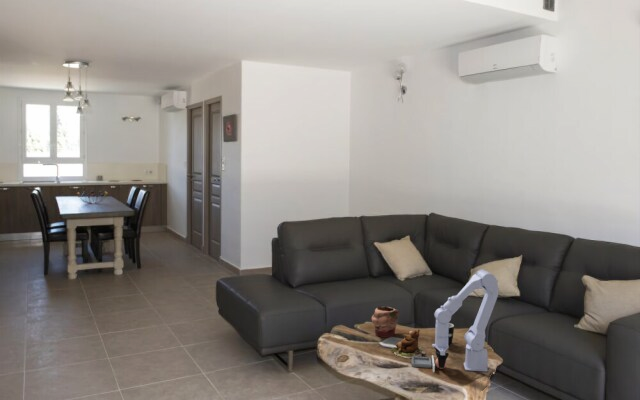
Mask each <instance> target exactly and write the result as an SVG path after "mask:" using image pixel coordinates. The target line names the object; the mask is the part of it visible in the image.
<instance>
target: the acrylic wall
mask: <svg viewBox="0 0 640 400" xmlns="http://www.w3.org/2000/svg"><path fill="white" fill-rule="evenodd" d="M431 364H432V366H431V368H432V372H433V373H436V372H435V369H436V363H435V358H434V355H433V354H432V355H431Z"/></svg>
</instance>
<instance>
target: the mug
mask: <svg viewBox="0 0 640 400" xmlns="http://www.w3.org/2000/svg"><path fill="white" fill-rule="evenodd" d="M454 331H455V325H454V324H453V323H450V322H449V334H448V345H449V347H451V345H452V344H453V343H452V342H453V339H454V333H455V332H454Z"/></svg>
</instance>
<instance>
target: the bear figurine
mask: <svg viewBox="0 0 640 400" xmlns="http://www.w3.org/2000/svg"><path fill="white" fill-rule="evenodd" d="M420 331H421V329H418V330H415V329H414V330H410V331H408V334H404V336H403V337H404V338H403V339H401V341H399V342H396V344H395V347H394V346H393V347H392V348H391V349H390V352H391V353H392V352H394V353H393V354H395V356H396V355H397V356H398V357H400V358H405V359H409V360H410V359H412V356H416V357H422V355H425V354H426V352H425V350H424V348H423V347H421V346H419V337H420Z"/></svg>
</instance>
